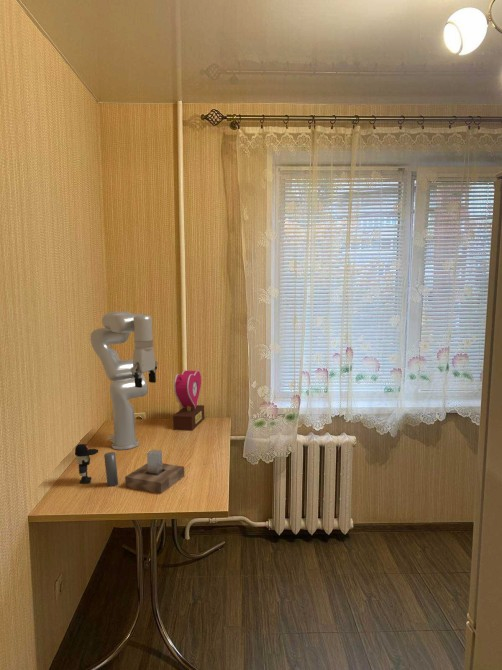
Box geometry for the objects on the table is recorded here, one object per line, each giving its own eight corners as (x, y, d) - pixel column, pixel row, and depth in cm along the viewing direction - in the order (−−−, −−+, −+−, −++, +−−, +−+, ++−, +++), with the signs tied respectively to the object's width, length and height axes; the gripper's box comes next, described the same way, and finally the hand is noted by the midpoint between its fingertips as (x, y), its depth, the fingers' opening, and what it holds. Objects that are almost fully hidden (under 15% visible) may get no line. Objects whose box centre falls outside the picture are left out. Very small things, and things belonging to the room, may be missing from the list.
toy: (99, 484, 180) (96, 446, 178) (75, 486, 178) (72, 448, 176) (100, 476, 187) (98, 439, 185) (78, 478, 185) (75, 441, 183)
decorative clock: (190, 432, 239) (188, 374, 235) (171, 431, 241) (168, 374, 237) (204, 418, 263) (203, 365, 259) (187, 417, 265) (185, 365, 261)
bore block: (125, 486, 177) (125, 476, 176) (150, 470, 191) (150, 461, 191) (161, 493, 170) (161, 483, 170) (184, 476, 185) (184, 466, 185)
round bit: (105, 486, 178) (102, 456, 176) (111, 481, 182) (108, 451, 180) (114, 486, 177) (111, 456, 175) (120, 482, 180) (117, 452, 179)
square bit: (148, 483, 180) (146, 452, 178) (154, 478, 183) (152, 449, 182) (157, 484, 178) (156, 454, 177) (163, 480, 182) (161, 450, 181)
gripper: (148, 341, 206) (150, 380, 208) (123, 347, 190) (125, 388, 192) (163, 342, 203) (164, 381, 205) (138, 347, 187) (140, 390, 189)
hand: (145, 384), depth 198 cm, fingers open, 9 cm apart
